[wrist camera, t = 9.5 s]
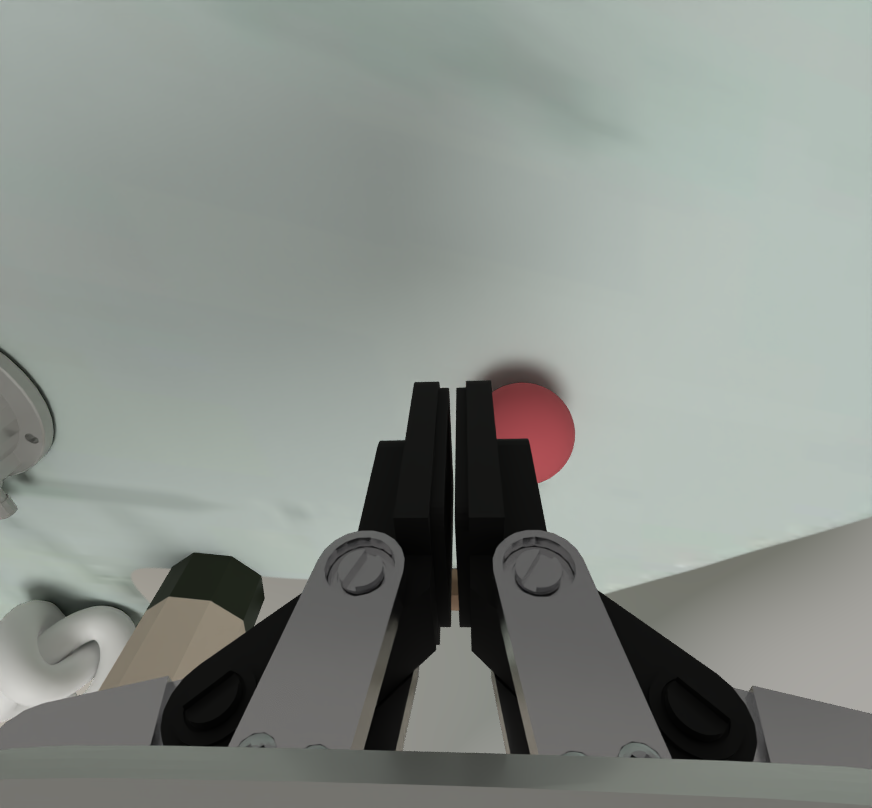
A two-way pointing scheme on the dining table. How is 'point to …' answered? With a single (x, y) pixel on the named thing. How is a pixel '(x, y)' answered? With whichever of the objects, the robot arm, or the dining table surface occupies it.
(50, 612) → the white knot
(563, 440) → the ball
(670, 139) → the dining table surface
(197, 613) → the wine bottle
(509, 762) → the robot arm
